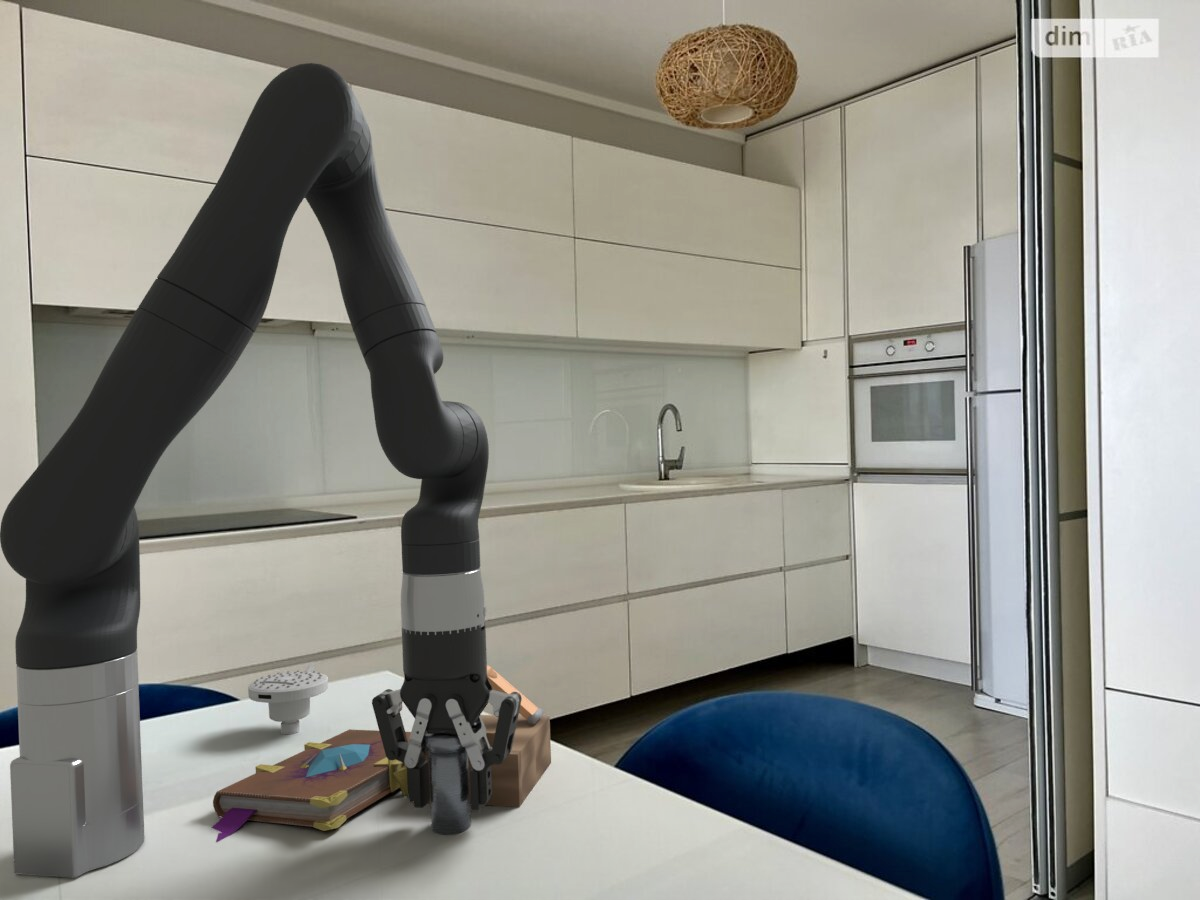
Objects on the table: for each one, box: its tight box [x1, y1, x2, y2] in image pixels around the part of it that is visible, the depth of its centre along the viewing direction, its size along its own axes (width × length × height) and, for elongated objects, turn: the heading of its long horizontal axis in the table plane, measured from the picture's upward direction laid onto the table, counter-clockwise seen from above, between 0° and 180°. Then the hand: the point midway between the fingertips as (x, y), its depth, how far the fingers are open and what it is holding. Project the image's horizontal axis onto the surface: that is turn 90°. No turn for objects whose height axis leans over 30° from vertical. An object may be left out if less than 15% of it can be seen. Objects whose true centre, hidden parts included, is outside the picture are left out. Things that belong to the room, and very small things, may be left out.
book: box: [211, 729, 411, 843], centre depth 91 cm, size 16×25×5 cm, turn 157°
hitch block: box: [425, 714, 552, 807], centre depth 93 cm, size 12×10×5 cm
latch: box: [487, 664, 544, 725], centre depth 97 cm, size 3×9×1 cm
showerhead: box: [247, 663, 329, 735], centre depth 113 cm, size 9×7×10 cm
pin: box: [425, 731, 472, 836], centre depth 82 cm, size 4×4×9 cm
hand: (450, 805), depth 82 cm, fingers open, 5 cm apart
